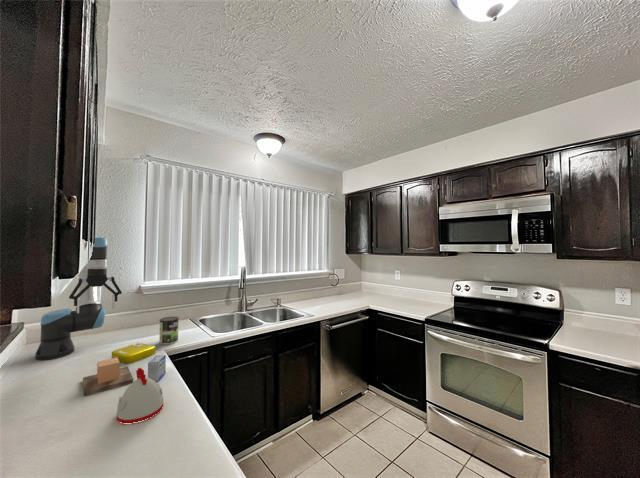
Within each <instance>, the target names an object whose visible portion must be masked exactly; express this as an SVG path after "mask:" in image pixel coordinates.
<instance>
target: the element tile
mask: <svg viewBox="0 0 640 478" xmlns="http://www.w3.org/2000/svg"><path fill="white" fill-rule="evenodd" d="M155 354H156V346H155V345H151V344H147V343H142V342H136V343H133V344H130V345H128V346H124V347H121V348H118V349H115V350H113V351H111V359H112V358H116V357H118V360H119V363H121V364H124V365H128V364H133V363H135V362H138V361H140V360H143V359H145V358H148V357H152V356H154V355H155Z"/></svg>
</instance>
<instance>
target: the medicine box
mask: <svg viewBox="0 0 640 478" xmlns="http://www.w3.org/2000/svg"><path fill="white" fill-rule="evenodd" d="M166 356H167V355H166V354H158V355H155V356H154V357H153V358H152V359H150V360H149V361H148V362H147V378H150V379H152V380H153V381H155V382H156V383H157V382H159V381H160V380H161V379H162V378H163V377H164V375H165V374H166V372H167V371H166V369H167V368H166V365H167V364H166V363H167V361H166Z"/></svg>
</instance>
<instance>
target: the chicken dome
mask: <svg viewBox="0 0 640 478" xmlns="http://www.w3.org/2000/svg"><path fill="white" fill-rule="evenodd" d="M162 407H163V408H164V396H163V388H162V387H161V386H160V384H159V383H157V382H155V381H153V380H152V379H150V378H148V376H146V373H145V370H144V369H143V368H141V367H138V368H137V370H136V379H135V380H133V383H130V385H128V387H127V388H126V389H125V391H124V392H123V394H122V396H119V397H118V403H117V410H116V421H119V422H122V423H133V422H138V421H142V420H145V419H147V418H150V417H152V416H153V415H155V414H157V413H158V412H159V411H160V410H161V409H162ZM162 410H163V409H162ZM162 410H161V411H162ZM159 413H160V412H159ZM159 413H158V414H159ZM158 414H157V415H158ZM152 418H153V417H152ZM119 422H118V423H119Z"/></svg>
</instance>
